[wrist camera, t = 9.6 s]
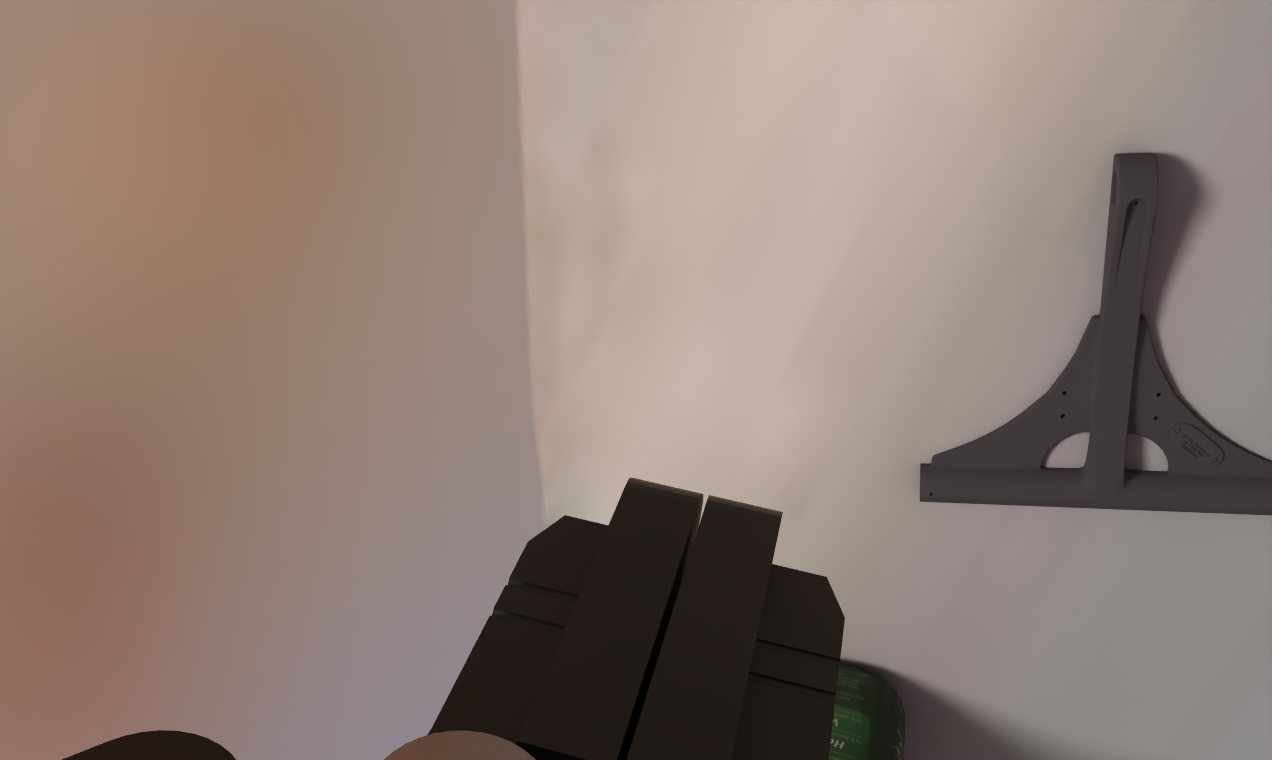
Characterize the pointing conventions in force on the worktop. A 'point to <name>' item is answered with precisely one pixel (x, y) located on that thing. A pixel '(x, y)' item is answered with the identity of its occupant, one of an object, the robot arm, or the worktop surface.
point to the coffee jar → (866, 718)
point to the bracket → (1109, 407)
